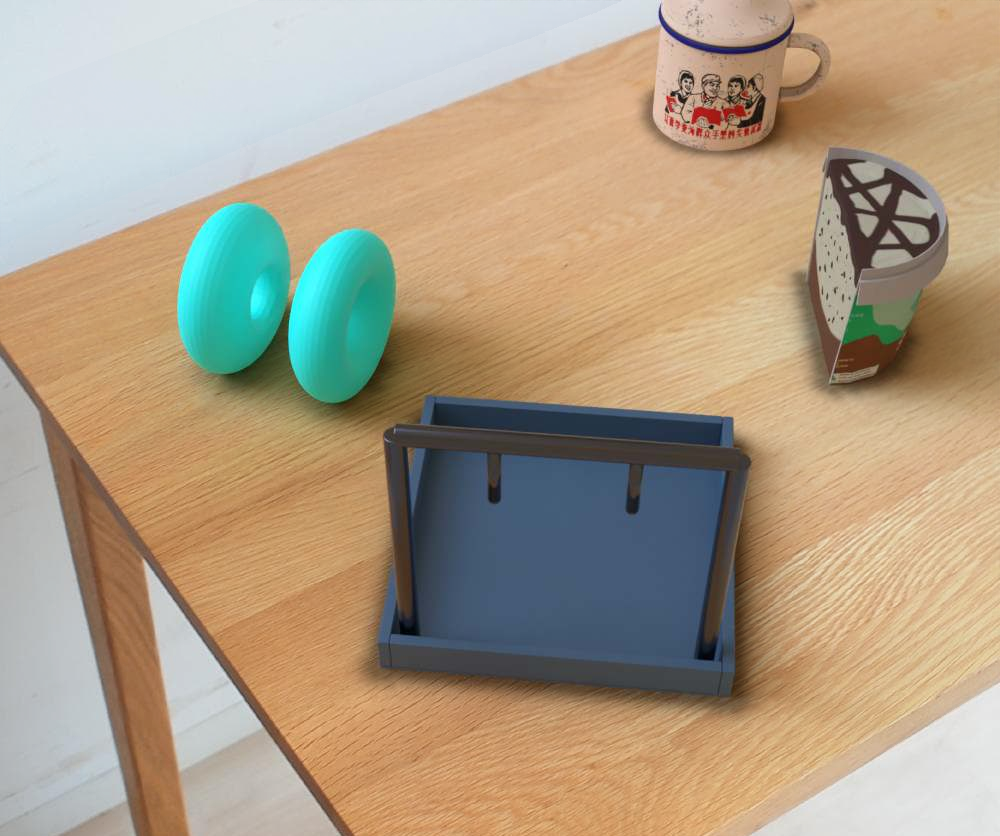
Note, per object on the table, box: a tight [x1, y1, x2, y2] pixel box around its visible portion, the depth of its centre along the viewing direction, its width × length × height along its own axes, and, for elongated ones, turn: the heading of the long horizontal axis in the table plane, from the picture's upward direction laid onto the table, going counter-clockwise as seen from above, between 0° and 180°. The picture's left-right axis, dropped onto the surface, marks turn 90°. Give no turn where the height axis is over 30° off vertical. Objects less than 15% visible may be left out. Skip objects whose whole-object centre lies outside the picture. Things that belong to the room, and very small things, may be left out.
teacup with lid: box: [652, 0, 832, 152], centre depth 99 cm, size 12×9×12 cm
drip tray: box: [376, 394, 736, 698], centre depth 76 cm, size 17×17×3 cm
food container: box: [805, 145, 950, 386], centre depth 85 cm, size 12×6×10 cm, turn 0°
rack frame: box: [382, 422, 753, 661], centre depth 66 cm, size 15×1×16 cm, turn 84°
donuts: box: [176, 202, 397, 404], centre depth 83 cm, size 10×10×10 cm
